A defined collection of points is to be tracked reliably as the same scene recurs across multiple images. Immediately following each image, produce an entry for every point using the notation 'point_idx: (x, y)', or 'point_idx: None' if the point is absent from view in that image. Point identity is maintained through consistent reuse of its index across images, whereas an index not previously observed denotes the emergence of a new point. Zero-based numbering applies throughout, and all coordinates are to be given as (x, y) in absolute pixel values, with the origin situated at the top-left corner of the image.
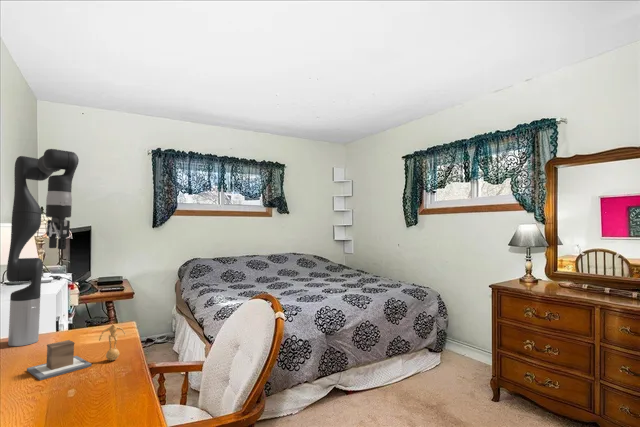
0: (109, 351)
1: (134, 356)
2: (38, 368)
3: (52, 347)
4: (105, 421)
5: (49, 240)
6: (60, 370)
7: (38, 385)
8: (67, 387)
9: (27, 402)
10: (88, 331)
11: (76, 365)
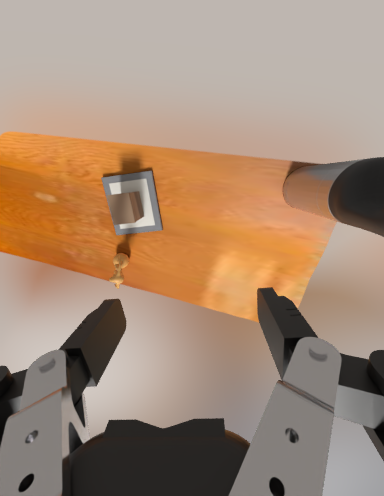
0: (116, 258)
1: None
2: (138, 181)
3: (107, 195)
4: None
5: (285, 321)
6: None
7: (87, 173)
8: (62, 197)
9: (41, 155)
10: (286, 274)
11: None
